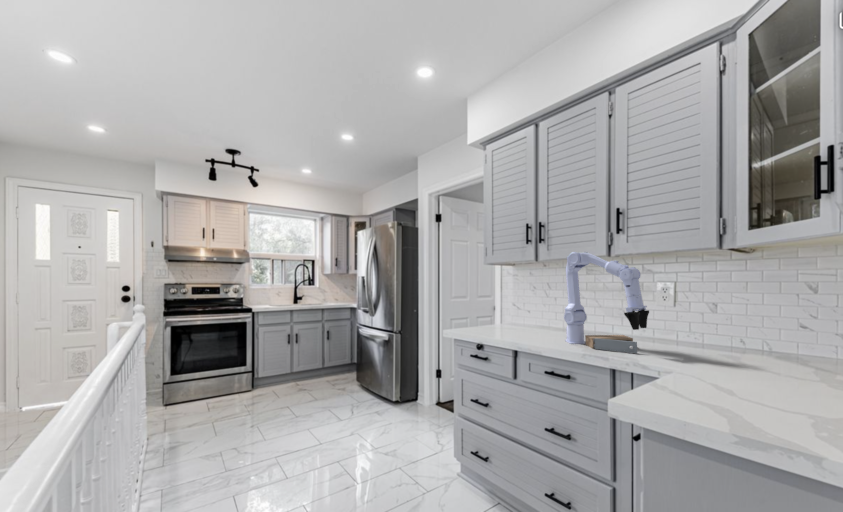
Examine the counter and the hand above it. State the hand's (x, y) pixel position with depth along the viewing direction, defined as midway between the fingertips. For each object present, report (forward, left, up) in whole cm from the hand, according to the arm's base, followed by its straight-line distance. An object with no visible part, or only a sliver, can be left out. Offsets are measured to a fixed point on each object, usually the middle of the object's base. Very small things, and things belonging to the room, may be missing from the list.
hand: (639, 328), depth 151 cm
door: (-3, -9, -10) cm, 14 cm away
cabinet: (-14, -7, -10) cm, 18 cm away
